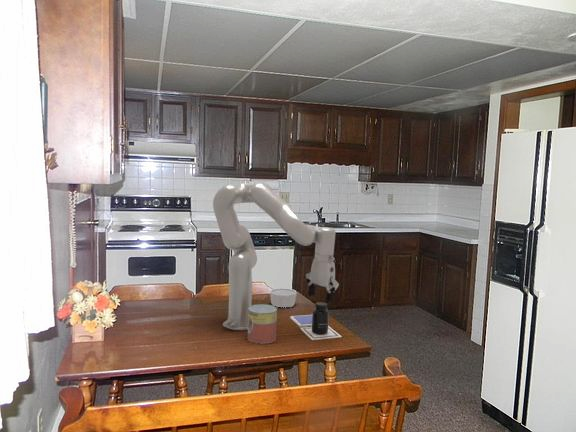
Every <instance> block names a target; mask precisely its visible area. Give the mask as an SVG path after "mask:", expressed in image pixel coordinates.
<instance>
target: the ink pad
mask: <svg viewBox="0 0 576 432" xmlns="http://www.w3.org/2000/svg"><path fill="white" fill-rule="evenodd" d="M289 319H291V321H292V322H294V323H295V325H297V326H298V328H306V327H309V326H310V327H312V314H305V315H291V316H290V317H289Z"/></svg>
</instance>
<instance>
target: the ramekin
mask: <svg viewBox="0 0 576 432" xmlns="http://www.w3.org/2000/svg"><path fill="white" fill-rule="evenodd" d="M297 294H298V292H297V291H296V290H295V289H292V288H287V287H280V288H279V287H278V288H273V289H270V292H269V295H270V303H271V305H272V306H276V308H278V307H281V308H280V309H287V308H286V307H290V308H292V307H294V305H295V303H296V299H297ZM282 307H283V308H282ZM284 307H285V308H284Z"/></svg>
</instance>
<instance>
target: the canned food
mask: <svg viewBox="0 0 576 432" xmlns="http://www.w3.org/2000/svg"><path fill="white" fill-rule="evenodd" d="M248 310H249V312H248V329H247V337H246V338H248V339H247V340H248V342H251V343H253V342H255V343H254V344H258V343H260V344H261V345H264V344H266V343H267V344H270V343H273V341H274V342H275V341H276V340H277V318H278V317H277V316H278V315H277V314H278V313H277V312H278V307H275V306H273V305H272V304H265V303H264V304H263V303H258V304H251V306H250V307H249V308H248ZM260 344H259V345H260Z"/></svg>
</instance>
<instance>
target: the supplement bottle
mask: <svg viewBox="0 0 576 432" xmlns="http://www.w3.org/2000/svg"><path fill="white" fill-rule="evenodd" d="M314 306H315V307H314V309H313V311H312V313H311V315H312V326H311V327H312V332H313V333H315V334H318V335H324V334H327V333H328V326H329V322H330V321H329V320H330V312H329V310H328V303H327V302H321V301H317V302H315V305H314Z"/></svg>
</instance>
